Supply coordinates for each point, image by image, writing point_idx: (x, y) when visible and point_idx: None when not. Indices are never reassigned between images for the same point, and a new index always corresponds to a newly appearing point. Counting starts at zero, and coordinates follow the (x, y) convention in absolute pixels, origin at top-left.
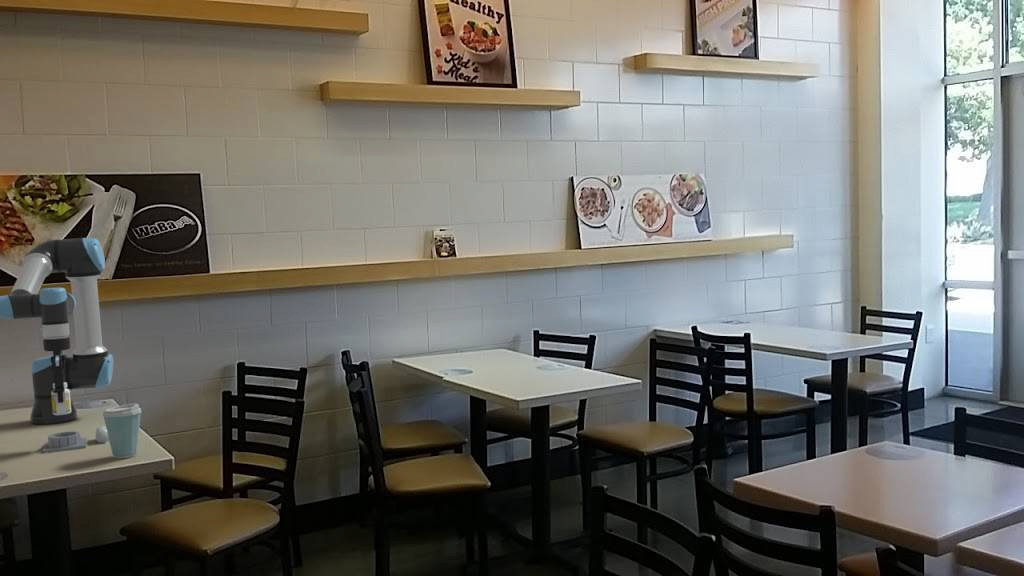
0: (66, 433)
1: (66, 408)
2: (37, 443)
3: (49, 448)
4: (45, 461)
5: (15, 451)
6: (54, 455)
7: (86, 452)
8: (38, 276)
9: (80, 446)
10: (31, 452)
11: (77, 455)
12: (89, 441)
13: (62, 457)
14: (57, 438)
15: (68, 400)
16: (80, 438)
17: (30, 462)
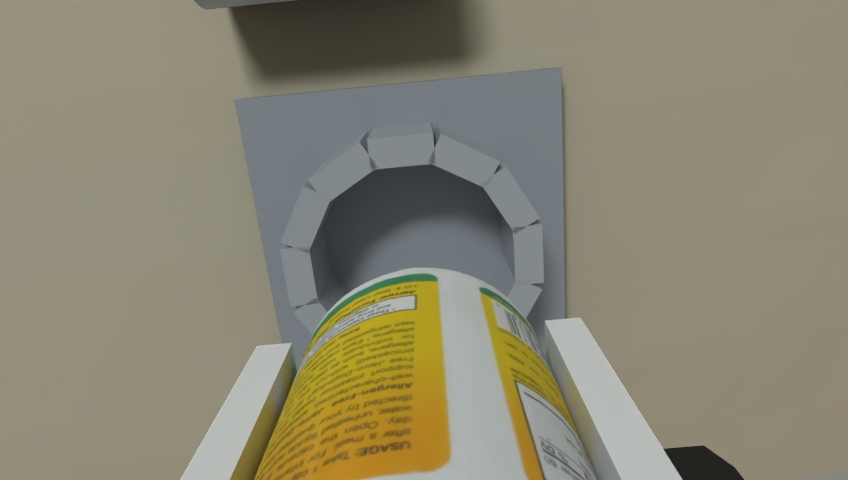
0: (313, 256)
1: (535, 345)
2: (205, 425)
3: None
4: (841, 296)
5: None
6: (685, 265)
7: (737, 41)
8: None
9: (561, 107)
10: None
11: (801, 101)
12: (302, 64)
13: (793, 202)
14: (536, 298)
15: (523, 384)
16: (246, 143)
17: (801, 379)
